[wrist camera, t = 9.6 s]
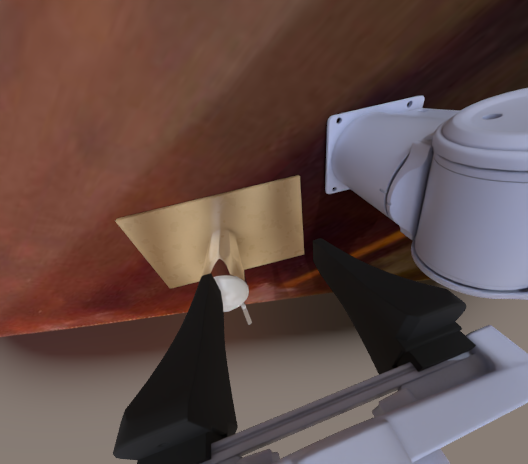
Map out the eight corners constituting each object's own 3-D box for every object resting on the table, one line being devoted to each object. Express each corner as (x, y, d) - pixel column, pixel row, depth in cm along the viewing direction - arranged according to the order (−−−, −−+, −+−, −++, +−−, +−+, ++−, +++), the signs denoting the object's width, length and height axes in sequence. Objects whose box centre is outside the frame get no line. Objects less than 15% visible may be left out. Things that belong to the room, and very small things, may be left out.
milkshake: (230, 260, 25) (233, 335, 18) (196, 241, 23) (182, 320, 15) (253, 240, 24) (268, 311, 16) (220, 217, 21) (219, 290, 13)
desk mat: (298, 174, 20) (300, 176, 20) (303, 252, 28) (304, 254, 27) (117, 218, 20) (114, 220, 19) (170, 285, 27) (170, 288, 27)
